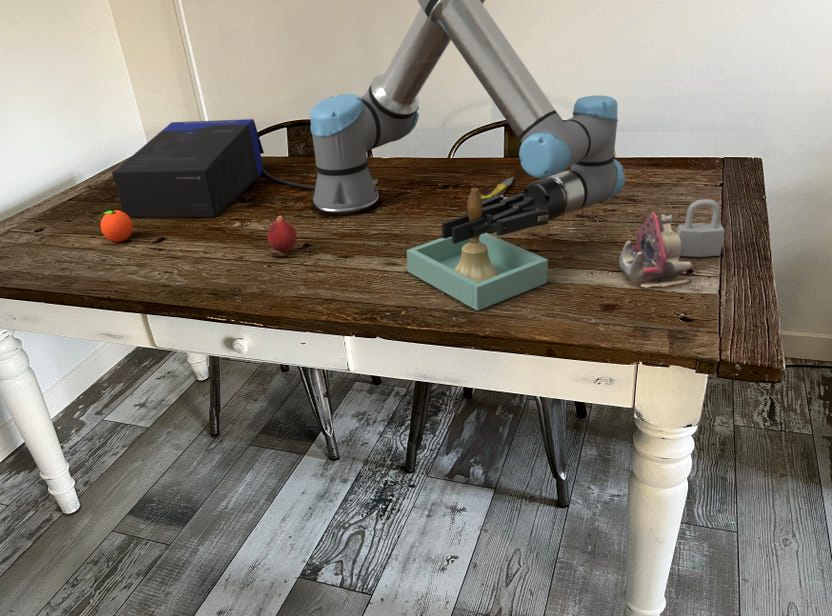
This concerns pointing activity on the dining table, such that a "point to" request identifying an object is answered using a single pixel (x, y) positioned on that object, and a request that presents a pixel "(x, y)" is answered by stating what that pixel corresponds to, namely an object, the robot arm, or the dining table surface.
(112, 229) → the clementine
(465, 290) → the open box
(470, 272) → the hand bell
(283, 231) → the onion
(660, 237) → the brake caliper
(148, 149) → the headphone box
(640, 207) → the dining table surface
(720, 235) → the padlock
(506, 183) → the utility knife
